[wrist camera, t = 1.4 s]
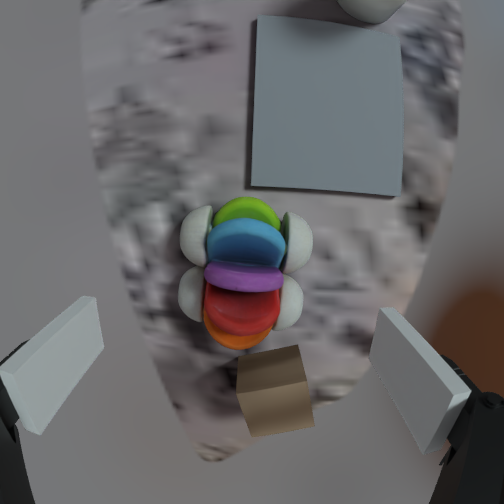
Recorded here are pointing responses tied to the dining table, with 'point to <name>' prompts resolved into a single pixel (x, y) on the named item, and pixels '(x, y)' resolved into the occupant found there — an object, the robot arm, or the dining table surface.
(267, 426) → the walnut block
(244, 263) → the rainbow wheeled toy
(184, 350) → the dining table surface
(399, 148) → the felt mat
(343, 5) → the white glossy rounded part
